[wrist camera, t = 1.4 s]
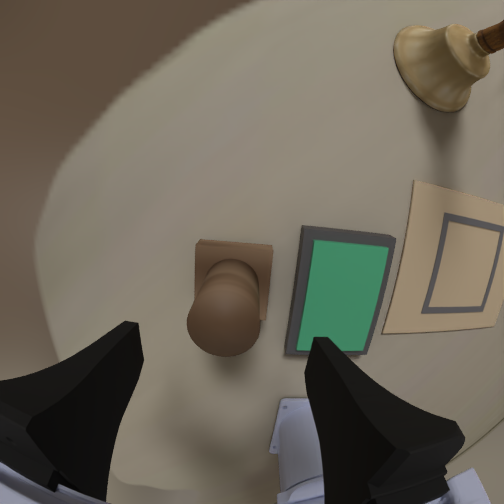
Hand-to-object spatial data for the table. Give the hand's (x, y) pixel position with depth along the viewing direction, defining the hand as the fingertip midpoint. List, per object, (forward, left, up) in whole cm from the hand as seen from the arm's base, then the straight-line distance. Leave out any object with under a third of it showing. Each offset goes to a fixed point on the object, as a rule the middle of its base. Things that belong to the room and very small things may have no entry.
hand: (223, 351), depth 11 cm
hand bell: (+19, -15, -11) cm, 26 cm away
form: (+2, -21, -10) cm, 23 cm away
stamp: (0, 0, -10) cm, 10 cm away
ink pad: (-1, -8, -10) cm, 13 cm away
